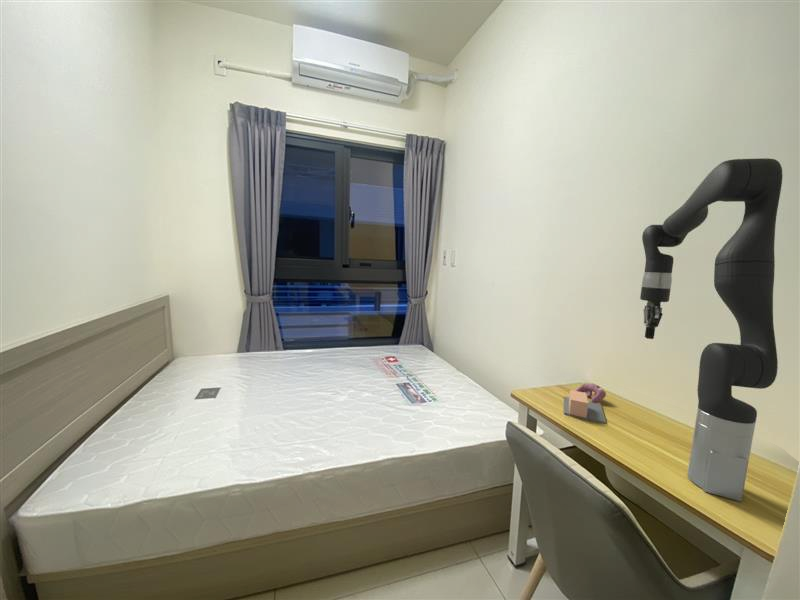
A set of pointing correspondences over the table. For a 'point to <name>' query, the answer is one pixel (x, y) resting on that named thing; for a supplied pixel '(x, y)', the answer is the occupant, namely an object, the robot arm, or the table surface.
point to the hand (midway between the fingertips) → (649, 338)
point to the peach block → (578, 403)
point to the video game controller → (590, 388)
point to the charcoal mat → (588, 411)
